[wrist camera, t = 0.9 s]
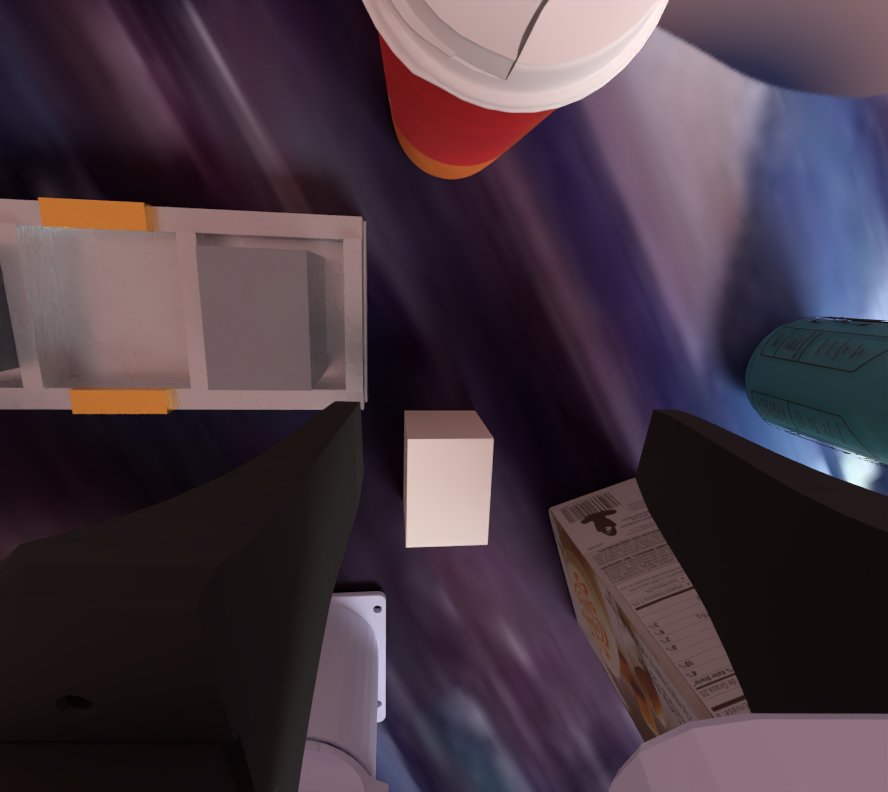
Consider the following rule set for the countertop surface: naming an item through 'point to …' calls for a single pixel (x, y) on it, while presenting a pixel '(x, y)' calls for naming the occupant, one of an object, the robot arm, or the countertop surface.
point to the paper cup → (496, 68)
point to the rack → (179, 308)
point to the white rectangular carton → (446, 478)
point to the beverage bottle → (825, 382)
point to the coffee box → (642, 613)
